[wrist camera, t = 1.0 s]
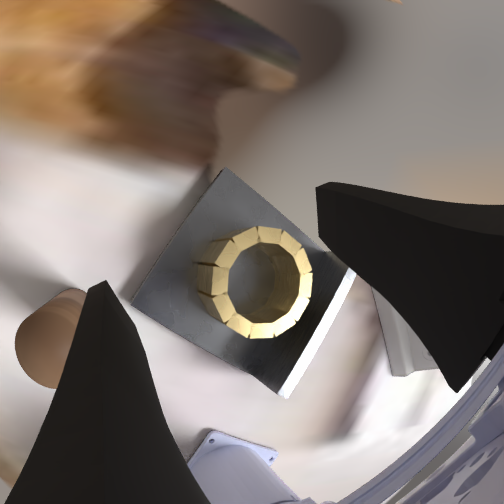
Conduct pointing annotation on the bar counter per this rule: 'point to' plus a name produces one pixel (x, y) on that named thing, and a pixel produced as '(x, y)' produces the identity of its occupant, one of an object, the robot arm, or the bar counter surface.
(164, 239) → the bar counter surface
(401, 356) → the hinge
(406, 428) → the bar counter surface
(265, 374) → the cup bracket
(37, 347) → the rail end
